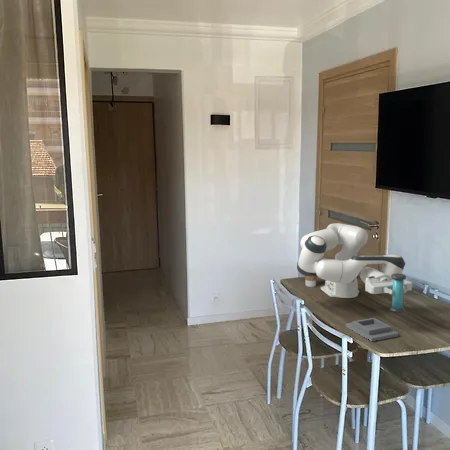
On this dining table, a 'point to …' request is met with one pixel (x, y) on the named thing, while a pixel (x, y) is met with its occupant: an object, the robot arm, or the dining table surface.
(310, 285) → the coffee cup
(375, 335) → the board
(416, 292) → the dining table surface
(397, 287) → the teal and grey rod
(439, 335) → the dining table surface
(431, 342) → the dining table surface
